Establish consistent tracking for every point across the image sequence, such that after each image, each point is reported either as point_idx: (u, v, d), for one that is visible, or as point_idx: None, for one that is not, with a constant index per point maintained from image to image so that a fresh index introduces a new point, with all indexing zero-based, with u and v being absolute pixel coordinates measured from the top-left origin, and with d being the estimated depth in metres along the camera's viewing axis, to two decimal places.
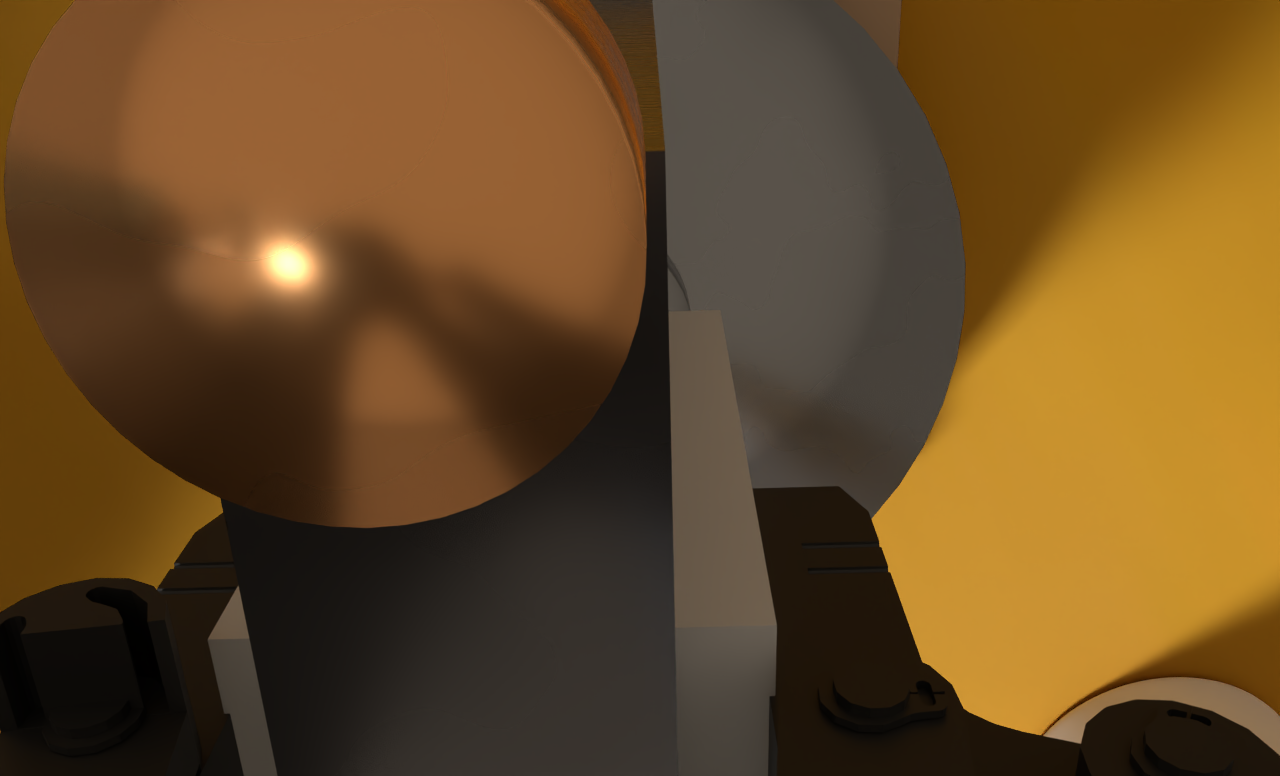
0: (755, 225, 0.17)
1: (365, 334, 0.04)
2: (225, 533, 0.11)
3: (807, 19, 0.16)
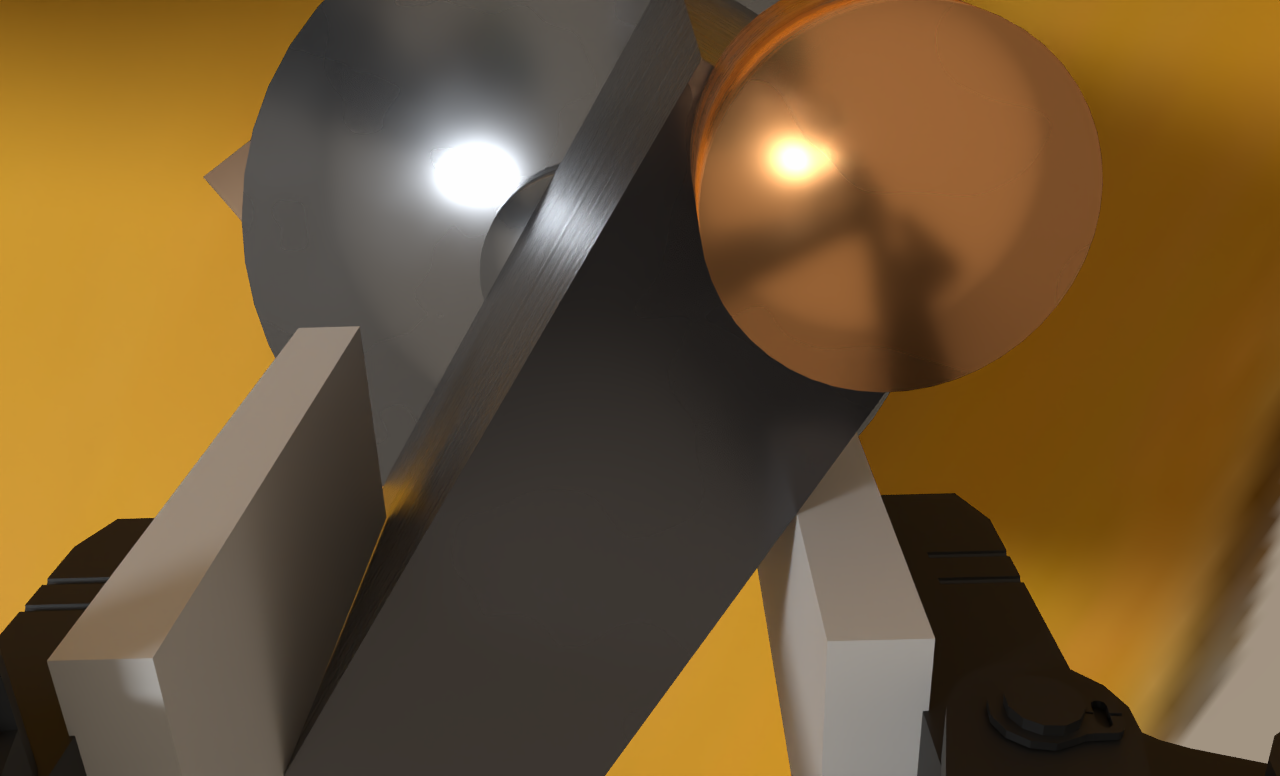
0: None
1: (880, 263, 0.07)
2: (104, 548, 0.11)
3: None
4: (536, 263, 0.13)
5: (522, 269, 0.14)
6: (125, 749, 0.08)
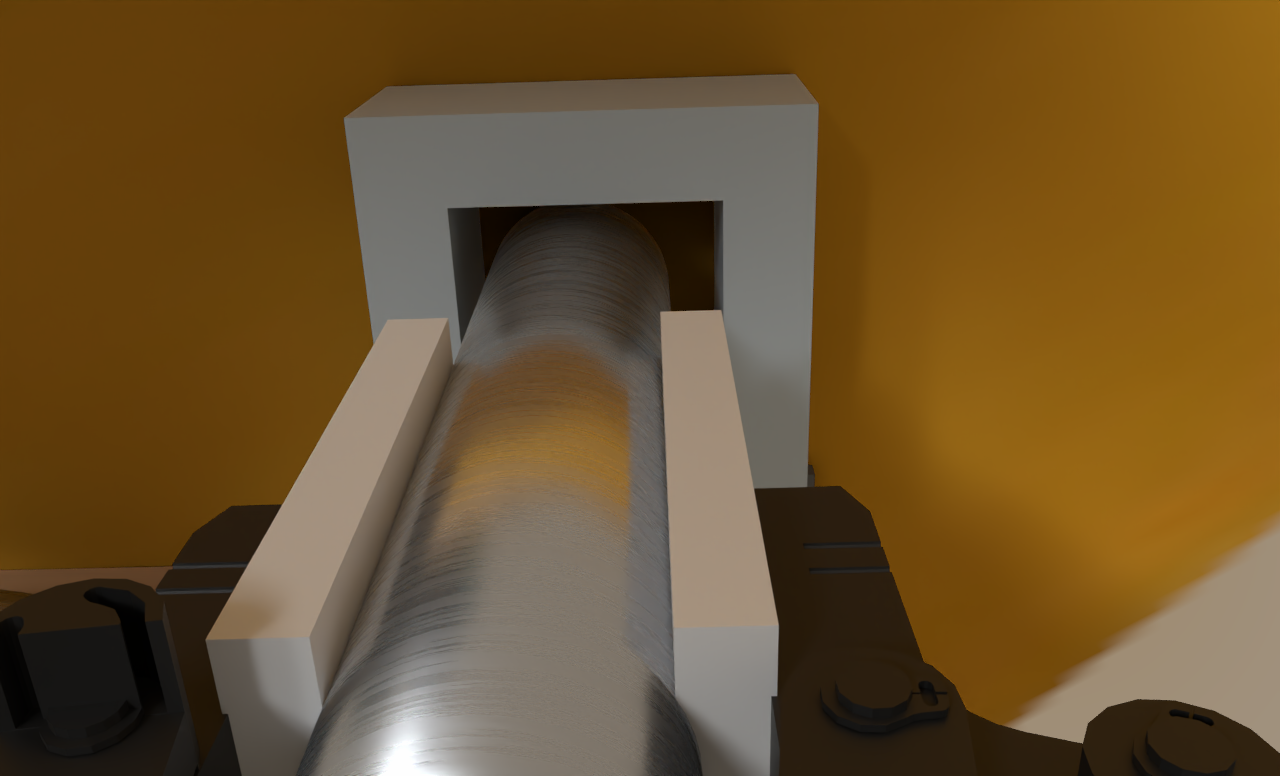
0: None
1: None
2: (223, 534, 0.11)
3: None
4: None
5: None
6: (277, 727, 0.09)
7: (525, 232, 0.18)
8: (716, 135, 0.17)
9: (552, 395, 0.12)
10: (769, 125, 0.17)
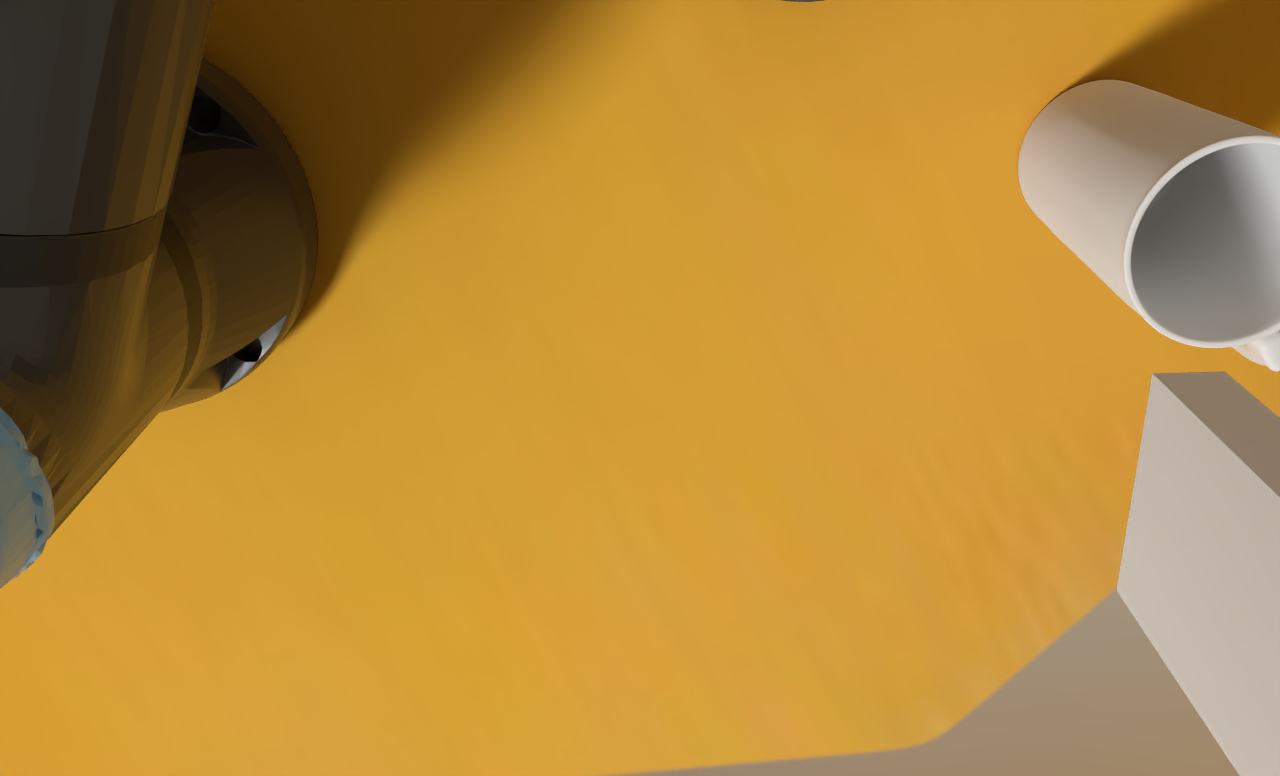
0: None
1: None
2: None
3: None
4: None
5: None
6: None
7: None
8: None
9: None
10: None
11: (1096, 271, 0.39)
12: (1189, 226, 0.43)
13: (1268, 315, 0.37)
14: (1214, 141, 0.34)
